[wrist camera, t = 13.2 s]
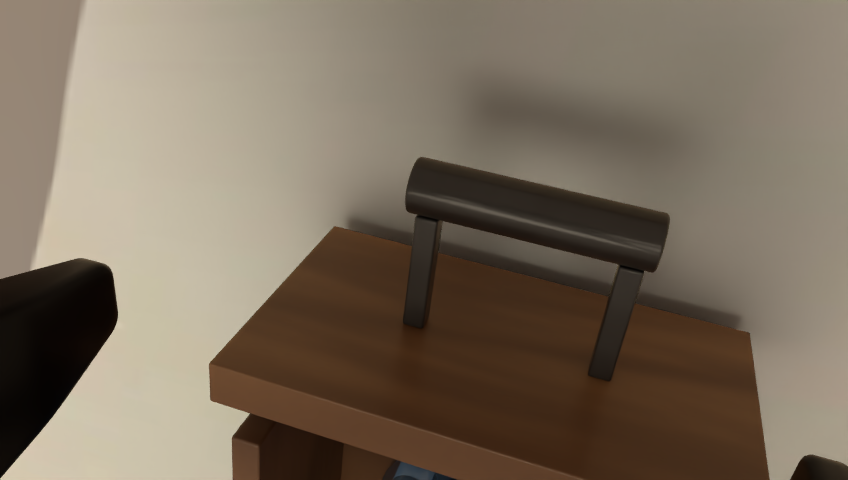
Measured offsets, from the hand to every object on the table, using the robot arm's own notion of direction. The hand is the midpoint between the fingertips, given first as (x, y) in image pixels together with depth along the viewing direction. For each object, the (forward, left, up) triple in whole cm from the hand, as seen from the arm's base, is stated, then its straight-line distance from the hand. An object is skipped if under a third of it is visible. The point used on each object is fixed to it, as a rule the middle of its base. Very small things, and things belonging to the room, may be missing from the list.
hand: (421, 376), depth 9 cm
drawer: (-8, +6, -13) cm, 16 cm away
